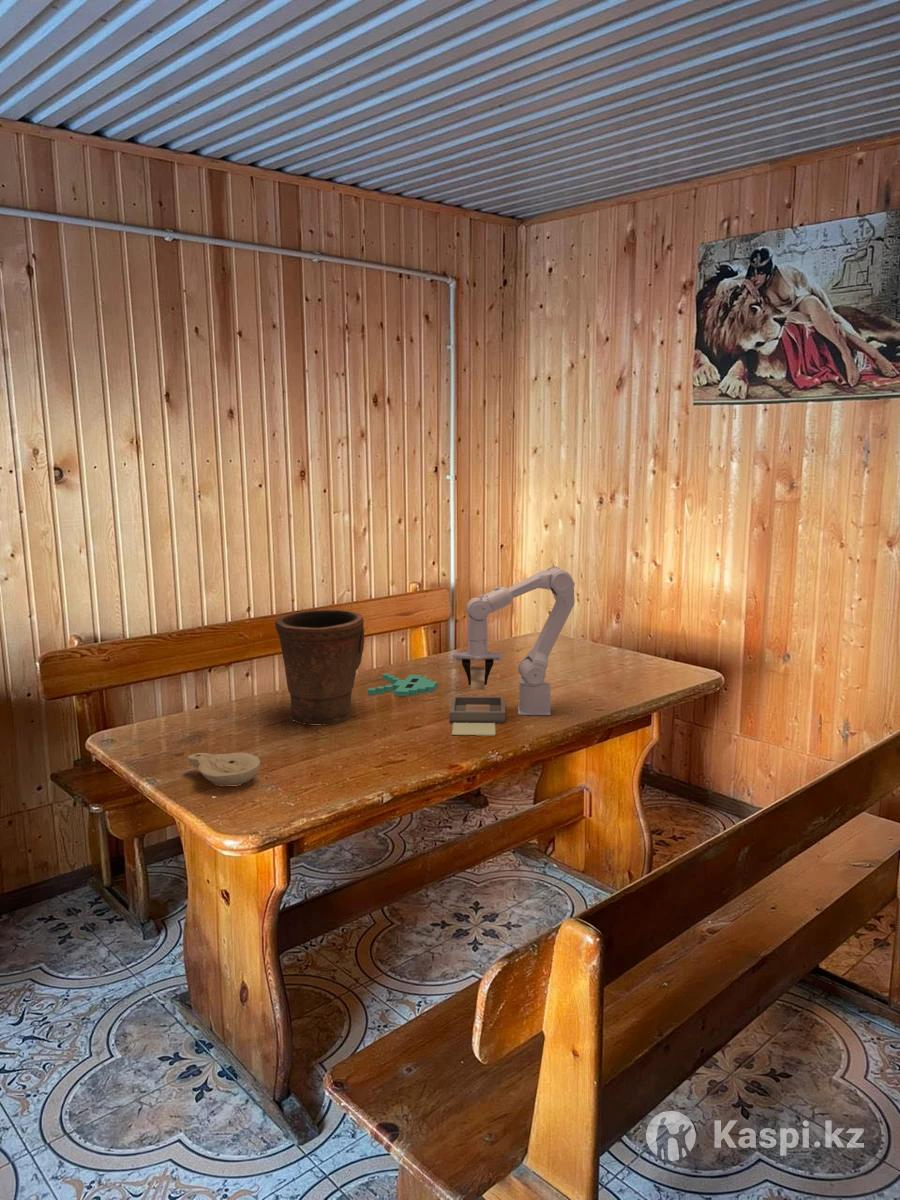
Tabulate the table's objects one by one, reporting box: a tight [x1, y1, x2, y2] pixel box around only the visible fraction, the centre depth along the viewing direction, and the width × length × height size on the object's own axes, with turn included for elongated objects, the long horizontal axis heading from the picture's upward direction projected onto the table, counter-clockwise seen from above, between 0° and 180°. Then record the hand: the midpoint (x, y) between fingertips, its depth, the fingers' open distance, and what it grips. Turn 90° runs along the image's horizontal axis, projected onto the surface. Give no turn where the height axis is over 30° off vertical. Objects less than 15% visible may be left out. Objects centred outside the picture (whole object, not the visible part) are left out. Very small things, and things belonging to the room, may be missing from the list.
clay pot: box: [274, 609, 365, 726], centre depth 263 cm, size 25×29×30 cm
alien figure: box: [367, 673, 438, 698], centre depth 292 cm, size 20×2×20 cm
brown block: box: [470, 665, 486, 691], centre depth 262 cm, size 4×4×6 cm
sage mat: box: [451, 723, 496, 737], centre depth 250 cm, size 12×10×1 cm
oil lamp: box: [187, 752, 261, 786], centre depth 216 cm, size 21×14×5 cm
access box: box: [449, 695, 506, 724], centre depth 264 cm, size 16×16×3 cm
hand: (477, 684), depth 262 cm, fingers closed on brown block, 4 cm apart
